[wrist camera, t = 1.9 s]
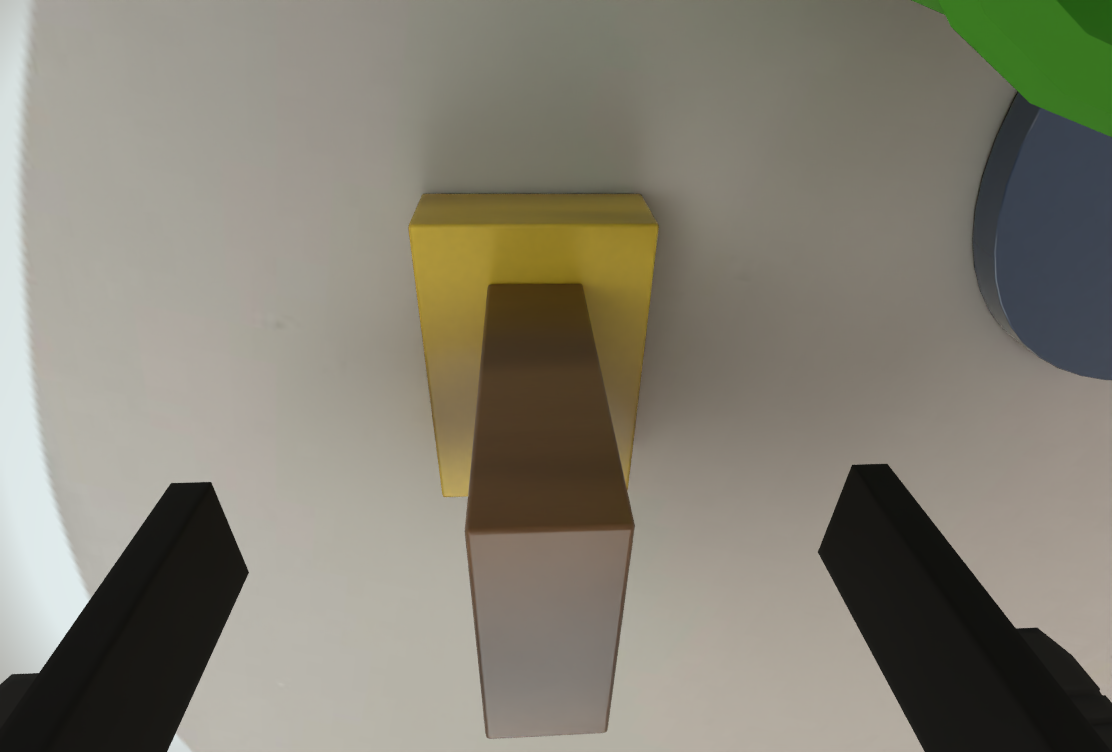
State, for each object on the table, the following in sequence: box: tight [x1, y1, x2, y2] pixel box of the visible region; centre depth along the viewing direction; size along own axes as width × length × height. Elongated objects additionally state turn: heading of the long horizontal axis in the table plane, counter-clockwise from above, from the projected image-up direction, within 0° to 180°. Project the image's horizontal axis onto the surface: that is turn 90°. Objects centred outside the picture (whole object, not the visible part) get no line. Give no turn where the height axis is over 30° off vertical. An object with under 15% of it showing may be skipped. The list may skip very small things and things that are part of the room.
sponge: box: [408, 194, 659, 739], centre depth 14 cm, size 9×6×10 cm, turn 179°
